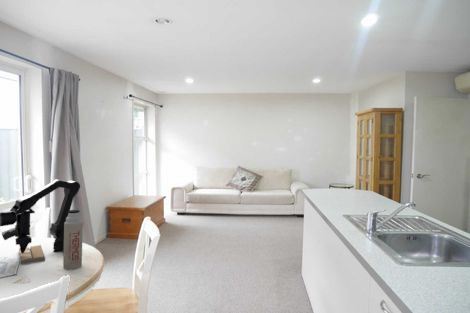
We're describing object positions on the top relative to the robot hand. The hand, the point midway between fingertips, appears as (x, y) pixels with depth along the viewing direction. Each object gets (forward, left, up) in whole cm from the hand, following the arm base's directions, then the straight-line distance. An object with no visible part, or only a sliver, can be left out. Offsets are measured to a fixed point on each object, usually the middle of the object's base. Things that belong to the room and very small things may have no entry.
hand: (22, 252), depth 149 cm
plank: (0, -3, -2) cm, 4 cm away
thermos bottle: (-27, +14, -4) cm, 30 cm away
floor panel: (-3, -4, -4) cm, 6 cm away
